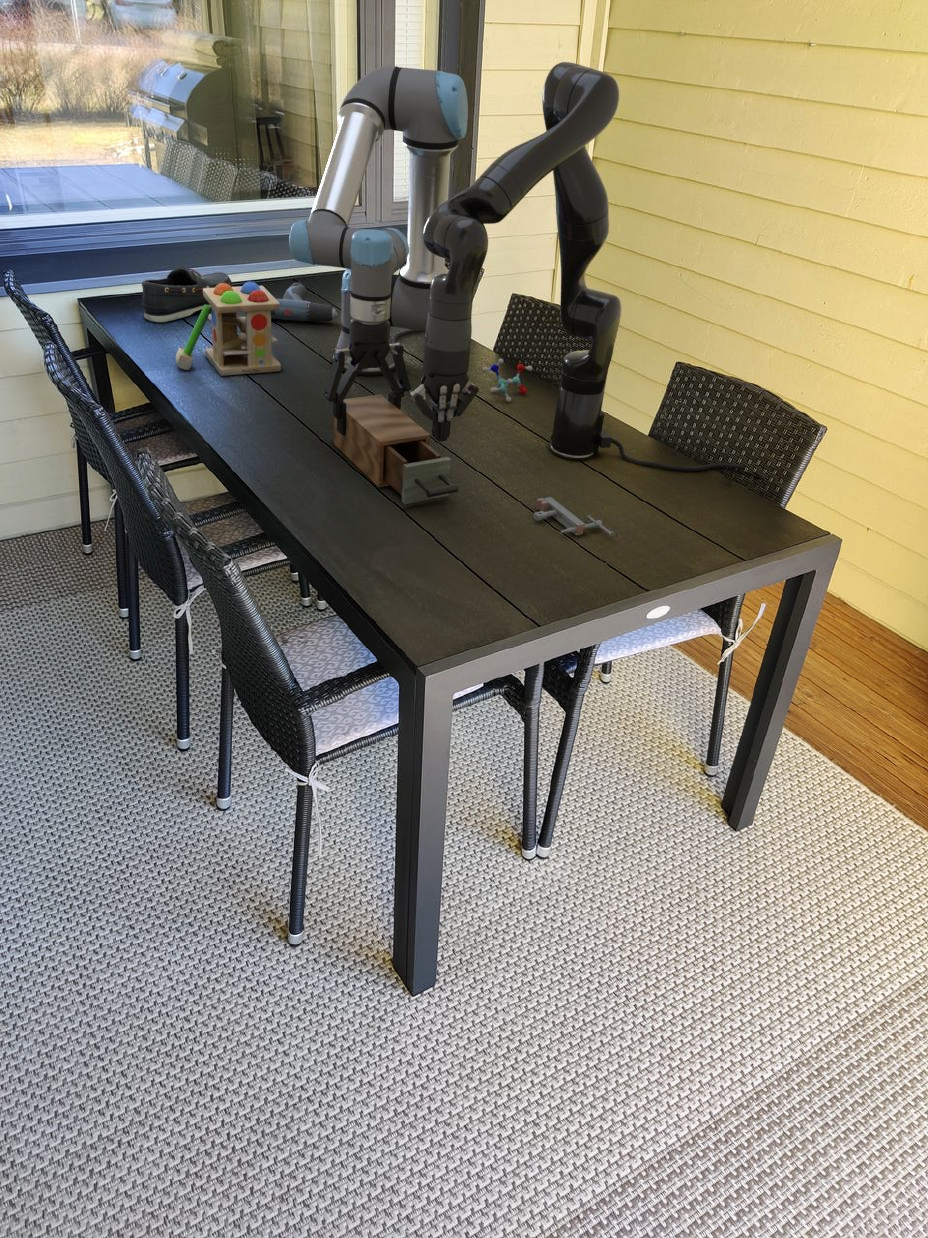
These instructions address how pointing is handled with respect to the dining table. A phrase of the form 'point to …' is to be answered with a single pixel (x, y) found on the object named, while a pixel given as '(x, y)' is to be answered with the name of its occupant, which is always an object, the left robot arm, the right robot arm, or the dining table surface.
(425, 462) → the drawer
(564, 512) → the clamp
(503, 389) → the molecular model
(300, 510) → the dining table surface
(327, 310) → the power drill
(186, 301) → the boat shoe
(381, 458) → the cabinet
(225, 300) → the pounding bench toy
